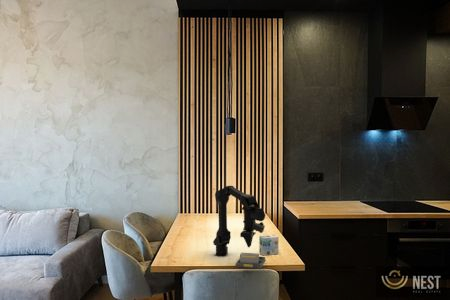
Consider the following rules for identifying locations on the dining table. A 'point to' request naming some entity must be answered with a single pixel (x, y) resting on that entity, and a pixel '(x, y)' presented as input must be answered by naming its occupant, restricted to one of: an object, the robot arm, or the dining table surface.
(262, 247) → the light bulb box
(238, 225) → the dining table surface
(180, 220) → the dining table surface
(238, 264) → the grey shallow square tray
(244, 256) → the panel
